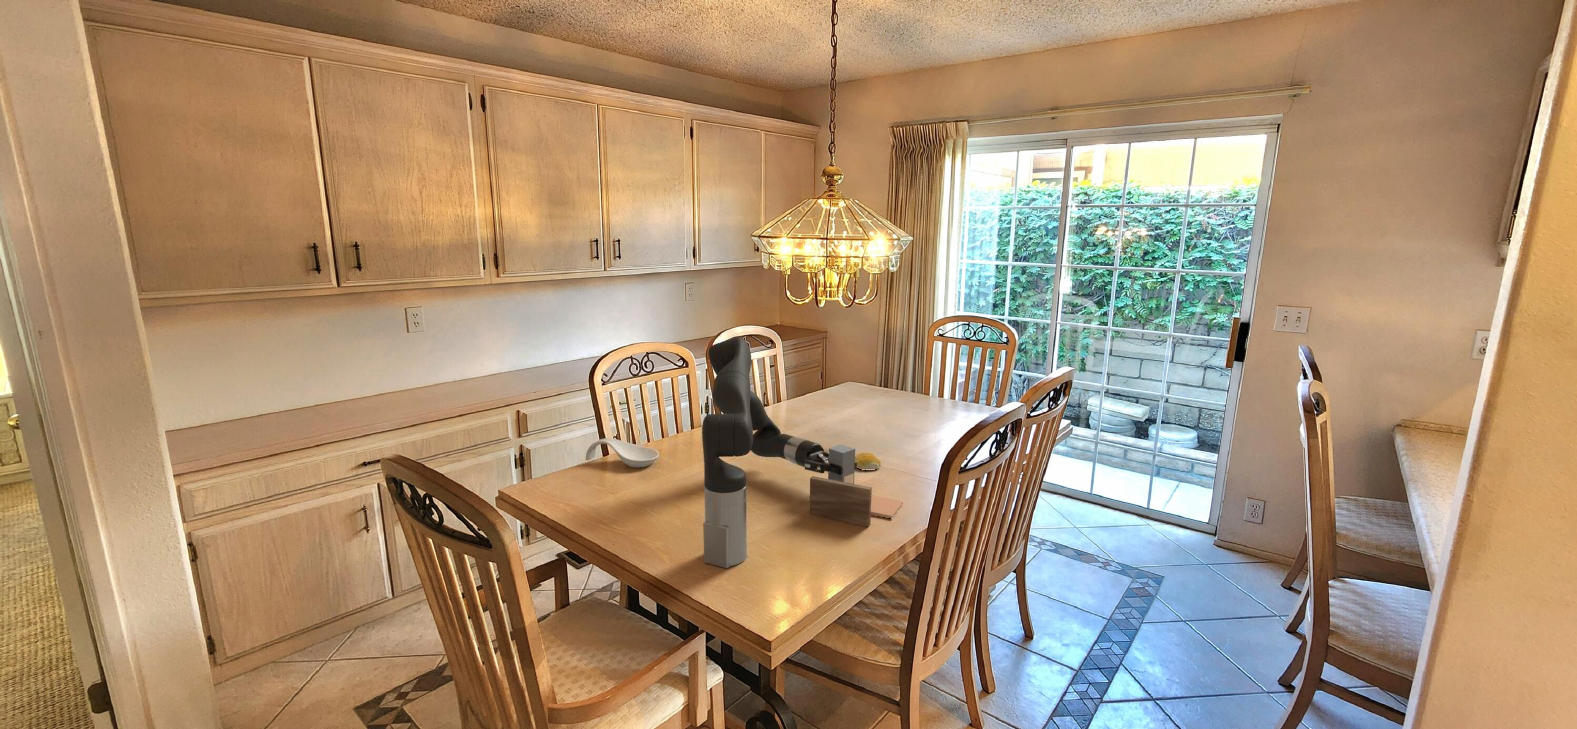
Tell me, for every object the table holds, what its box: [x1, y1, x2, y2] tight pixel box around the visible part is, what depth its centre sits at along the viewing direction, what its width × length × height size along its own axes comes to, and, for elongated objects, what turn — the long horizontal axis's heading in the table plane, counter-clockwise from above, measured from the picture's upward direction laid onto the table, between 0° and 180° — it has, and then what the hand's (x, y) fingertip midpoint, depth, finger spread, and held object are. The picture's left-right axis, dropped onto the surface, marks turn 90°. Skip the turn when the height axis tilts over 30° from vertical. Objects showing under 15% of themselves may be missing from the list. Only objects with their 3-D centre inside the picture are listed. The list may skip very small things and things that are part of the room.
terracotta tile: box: [871, 494, 904, 519], centre depth 170 cm, size 10×10×1 cm
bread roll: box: [855, 452, 882, 470], centre depth 200 cm, size 8×9×4 cm
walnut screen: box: [808, 475, 873, 528], centre depth 163 cm, size 2×16×10 cm, turn 64°
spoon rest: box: [585, 437, 660, 469], centre depth 201 cm, size 24×12×7 cm, turn 76°
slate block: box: [827, 443, 856, 484], centre depth 173 cm, size 5×5×12 cm
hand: (848, 468), depth 171 cm, fingers closed on slate block, 5 cm apart
